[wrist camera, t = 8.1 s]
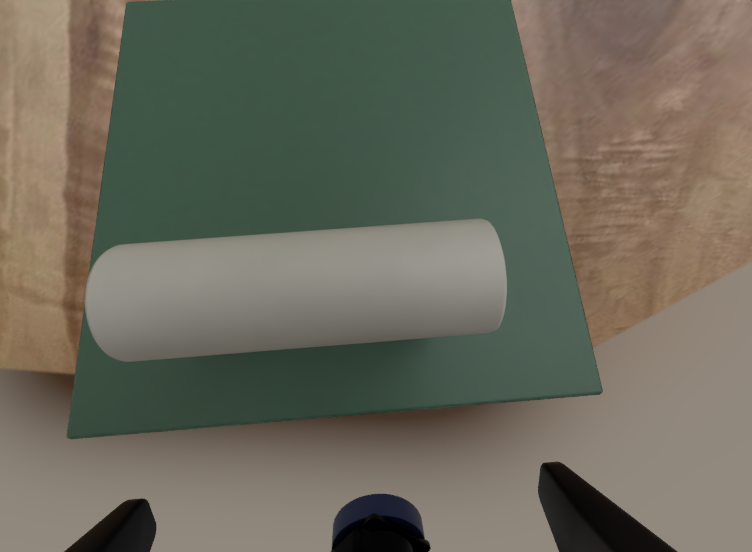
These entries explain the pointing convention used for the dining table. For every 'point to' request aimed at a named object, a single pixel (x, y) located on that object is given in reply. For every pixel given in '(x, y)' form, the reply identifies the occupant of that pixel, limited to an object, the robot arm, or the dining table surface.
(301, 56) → the lid
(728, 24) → the dining table surface
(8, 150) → the dining table surface
